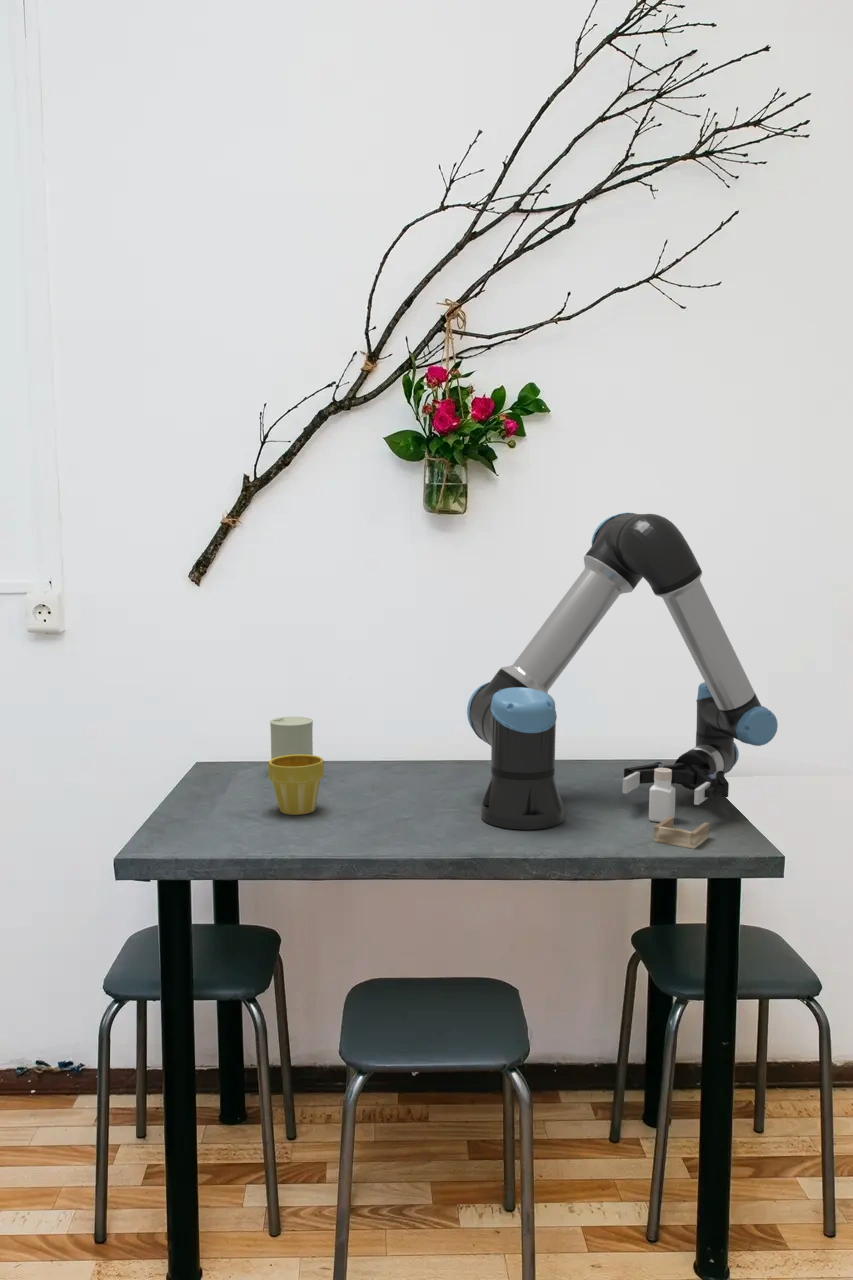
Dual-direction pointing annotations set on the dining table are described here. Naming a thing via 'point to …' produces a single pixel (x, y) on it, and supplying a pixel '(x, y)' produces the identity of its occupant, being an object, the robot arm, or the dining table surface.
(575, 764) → the dining table surface
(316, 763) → the plant pot
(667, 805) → the pepper shaker
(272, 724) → the can
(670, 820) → the tray
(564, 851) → the dining table surface
